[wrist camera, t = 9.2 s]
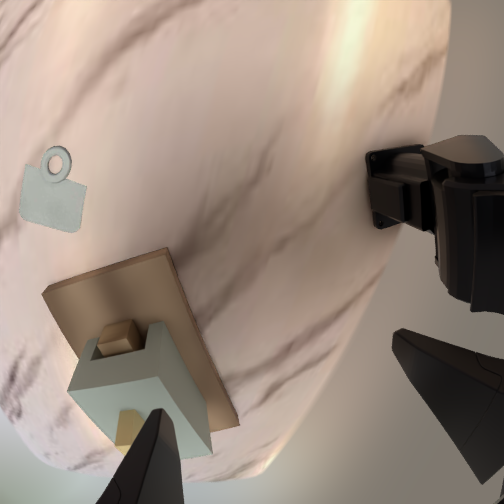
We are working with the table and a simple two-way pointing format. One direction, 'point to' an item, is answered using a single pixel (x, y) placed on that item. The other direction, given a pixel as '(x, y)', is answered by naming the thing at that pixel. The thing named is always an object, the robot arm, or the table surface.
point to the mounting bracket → (52, 194)
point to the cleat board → (138, 320)
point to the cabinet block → (142, 393)
